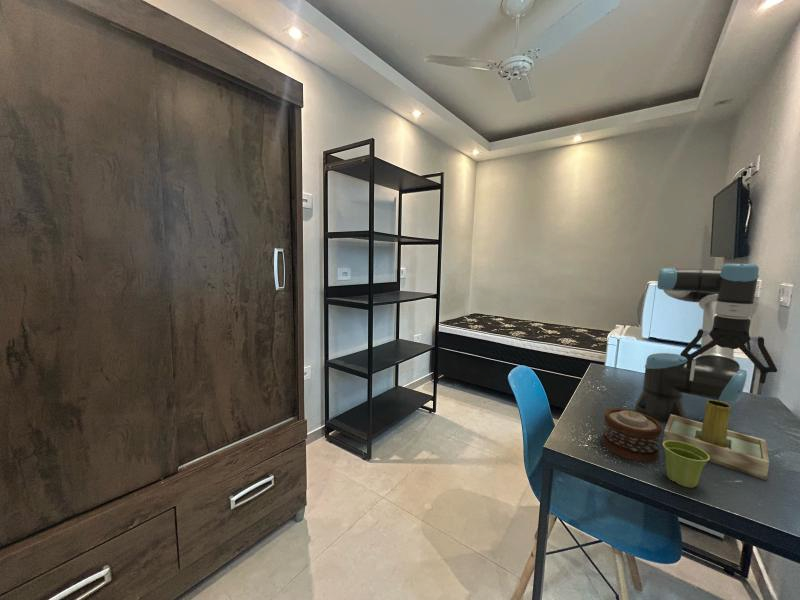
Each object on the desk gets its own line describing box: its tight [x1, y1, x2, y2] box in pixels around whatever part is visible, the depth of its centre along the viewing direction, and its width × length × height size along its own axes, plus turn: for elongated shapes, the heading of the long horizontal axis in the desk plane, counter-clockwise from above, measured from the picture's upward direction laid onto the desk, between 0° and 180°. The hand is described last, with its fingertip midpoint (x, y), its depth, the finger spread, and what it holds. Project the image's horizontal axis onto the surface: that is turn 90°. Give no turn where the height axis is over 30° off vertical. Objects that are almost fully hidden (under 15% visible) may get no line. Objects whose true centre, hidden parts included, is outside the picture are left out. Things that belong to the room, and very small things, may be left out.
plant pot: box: [661, 440, 710, 489], centre depth 86 cm, size 9×9×9 cm
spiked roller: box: [602, 408, 663, 463], centre depth 101 cm, size 15×11×15 cm
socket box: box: [661, 414, 770, 481], centre depth 100 cm, size 22×16×5 cm
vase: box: [699, 399, 731, 448], centre depth 99 cm, size 6×6×14 cm
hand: (721, 386), depth 98 cm, fingers open, 13 cm apart
